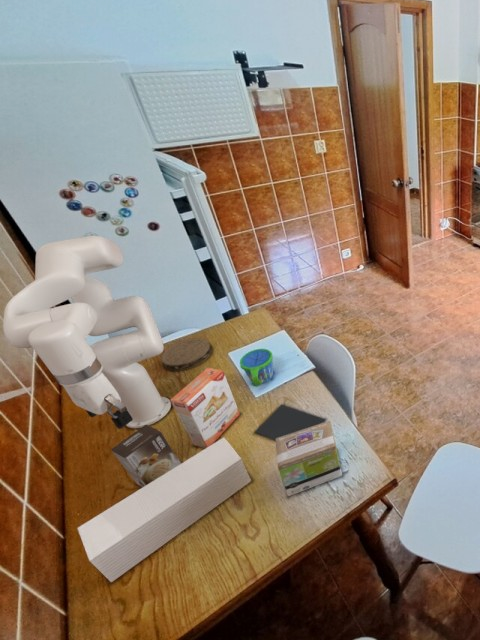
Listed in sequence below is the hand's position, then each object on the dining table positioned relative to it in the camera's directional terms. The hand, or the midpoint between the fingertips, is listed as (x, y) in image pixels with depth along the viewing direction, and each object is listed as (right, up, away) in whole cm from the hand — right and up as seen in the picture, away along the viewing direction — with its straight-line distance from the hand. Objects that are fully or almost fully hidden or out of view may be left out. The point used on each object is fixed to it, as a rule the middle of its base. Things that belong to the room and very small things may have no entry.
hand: (112, 418), depth 97 cm
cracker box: (+7, -14, +29) cm, 33 cm away
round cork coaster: (-24, +4, +57) cm, 62 cm away
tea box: (+44, -23, +18) cm, 52 cm away
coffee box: (0, -22, +15) cm, 27 cm away
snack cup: (+11, -2, +49) cm, 50 cm away
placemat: (+30, -14, +31) cm, 45 cm away
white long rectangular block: (+13, -28, +6) cm, 31 cm away
